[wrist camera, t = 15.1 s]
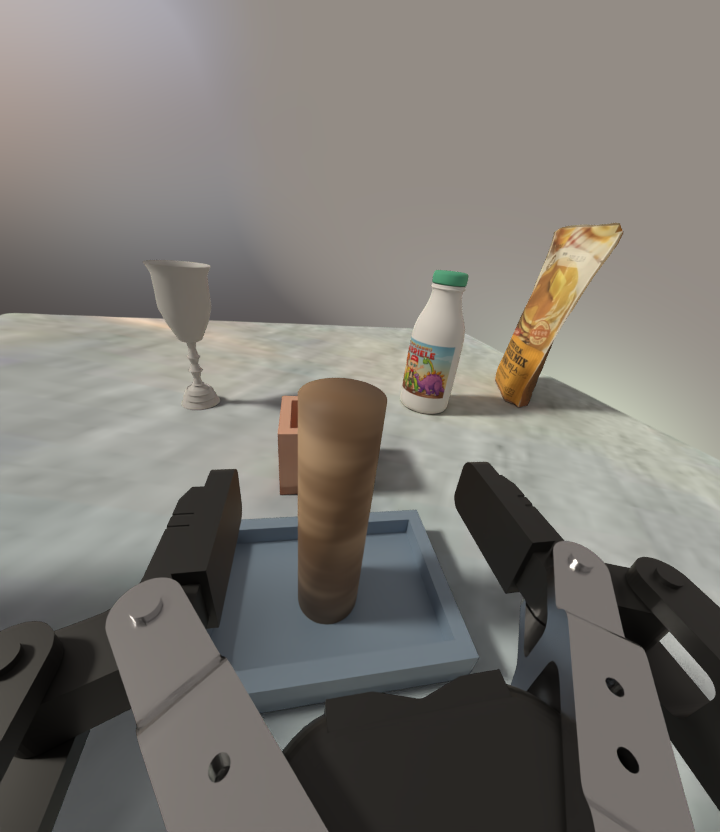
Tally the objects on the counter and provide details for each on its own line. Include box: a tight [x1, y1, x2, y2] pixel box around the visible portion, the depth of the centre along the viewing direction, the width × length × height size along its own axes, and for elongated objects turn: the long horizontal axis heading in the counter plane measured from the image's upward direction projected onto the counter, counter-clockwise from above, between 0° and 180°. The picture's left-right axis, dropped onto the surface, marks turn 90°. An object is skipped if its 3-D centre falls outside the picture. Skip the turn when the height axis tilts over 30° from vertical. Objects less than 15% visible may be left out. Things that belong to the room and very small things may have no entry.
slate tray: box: [206, 510, 479, 713], centre depth 21 cm, size 16×11×2 cm
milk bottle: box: [401, 270, 468, 414], centre depth 46 cm, size 8×8×20 cm
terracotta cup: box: [278, 396, 298, 495], centre depth 32 cm, size 8×8×7 cm
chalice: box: [143, 260, 220, 410], centre depth 40 cm, size 7×7×18 cm
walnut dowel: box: [298, 378, 387, 625], centre depth 18 cm, size 4×4×15 cm
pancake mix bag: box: [495, 223, 623, 407], centre depth 54 cm, size 7×19×28 cm, turn 167°
